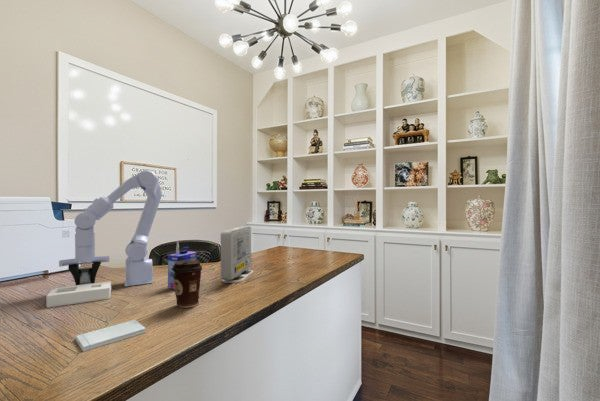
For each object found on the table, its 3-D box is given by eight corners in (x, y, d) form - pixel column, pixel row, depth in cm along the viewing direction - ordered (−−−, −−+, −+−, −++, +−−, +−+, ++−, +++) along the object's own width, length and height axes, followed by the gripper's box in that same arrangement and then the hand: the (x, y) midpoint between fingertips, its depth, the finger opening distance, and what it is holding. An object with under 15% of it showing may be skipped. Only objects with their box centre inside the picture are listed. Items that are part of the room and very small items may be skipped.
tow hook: (178, 264, 153) (168, 267, 144) (179, 239, 154) (168, 240, 145) (194, 264, 152) (184, 268, 143) (194, 239, 153) (184, 240, 144)
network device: (238, 269, 138) (238, 226, 138) (257, 269, 136) (256, 226, 136) (215, 284, 112) (214, 231, 112) (237, 285, 111) (237, 231, 111)
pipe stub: (92, 288, 110) (92, 266, 110) (91, 291, 106) (91, 268, 106) (79, 290, 108) (79, 268, 108) (77, 293, 104) (77, 270, 104)
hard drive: (134, 319, 77) (75, 334, 68) (146, 327, 72) (83, 346, 63) (134, 325, 77) (75, 342, 68) (146, 334, 72) (83, 354, 63)
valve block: (111, 290, 106) (111, 281, 106) (109, 298, 98) (109, 287, 98) (53, 298, 99) (53, 288, 99) (46, 307, 90) (46, 296, 90)
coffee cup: (173, 311, 85) (172, 266, 85) (170, 303, 92) (170, 261, 92) (204, 306, 89) (204, 262, 89) (200, 298, 96) (199, 258, 97)
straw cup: (178, 290, 106) (178, 249, 106) (166, 288, 108) (166, 248, 108) (197, 283, 115) (197, 245, 115) (186, 281, 117) (186, 244, 117)
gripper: (109, 243, 114) (110, 278, 114) (61, 246, 107) (62, 284, 107) (108, 245, 108) (109, 283, 108) (57, 249, 101) (58, 289, 101)
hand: (85, 284), depth 107 cm, fingers closed on pipe stub, 4 cm apart
